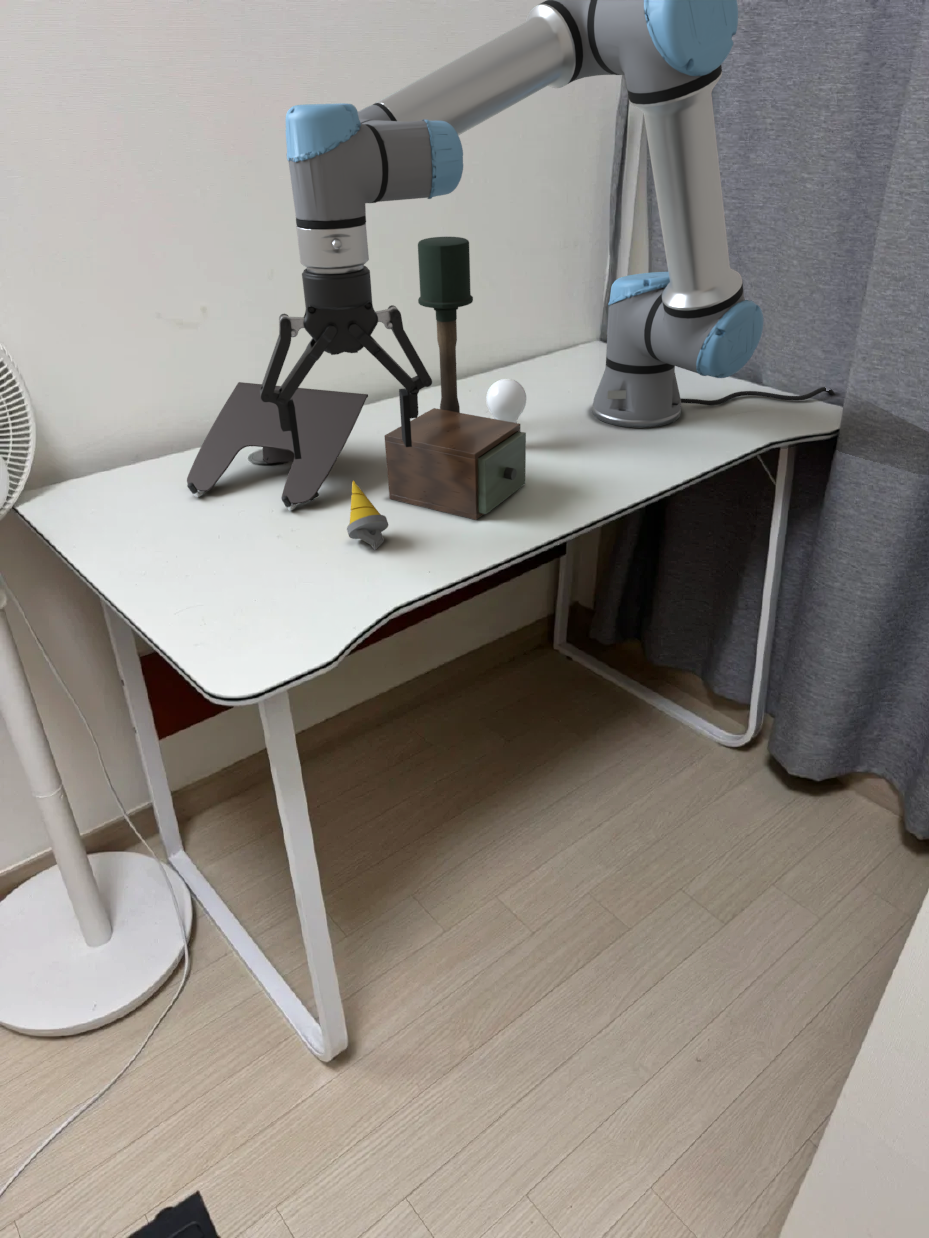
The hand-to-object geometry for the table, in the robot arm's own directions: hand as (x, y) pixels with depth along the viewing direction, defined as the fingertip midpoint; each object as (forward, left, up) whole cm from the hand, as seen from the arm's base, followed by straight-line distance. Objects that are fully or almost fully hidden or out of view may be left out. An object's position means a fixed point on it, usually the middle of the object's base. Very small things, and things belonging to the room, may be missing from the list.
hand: (352, 449), depth 106 cm
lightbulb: (-27, -26, -13) cm, 40 cm away
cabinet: (-15, -11, -13) cm, 23 cm away
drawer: (-17, -9, -12) cm, 23 cm away
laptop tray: (+10, -24, -13) cm, 29 cm away
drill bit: (0, 0, -13) cm, 13 cm away
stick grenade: (-20, -36, -13) cm, 43 cm away
